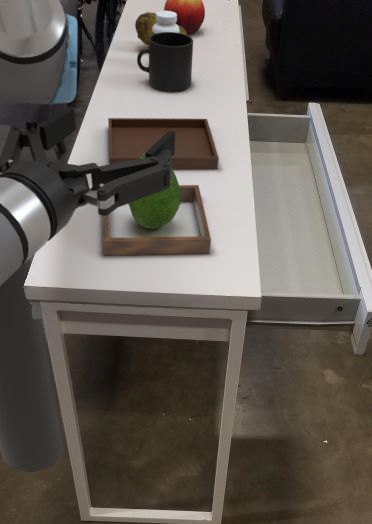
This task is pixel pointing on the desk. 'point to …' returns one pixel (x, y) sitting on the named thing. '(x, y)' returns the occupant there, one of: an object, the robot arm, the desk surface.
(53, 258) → the desk surface
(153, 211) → the avocado
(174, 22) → the pill bottle
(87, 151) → the desk surface
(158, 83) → the mug
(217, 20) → the desk surface
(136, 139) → the tray
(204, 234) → the wooden frame
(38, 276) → the desk surface
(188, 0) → the fruit
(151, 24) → the potato
